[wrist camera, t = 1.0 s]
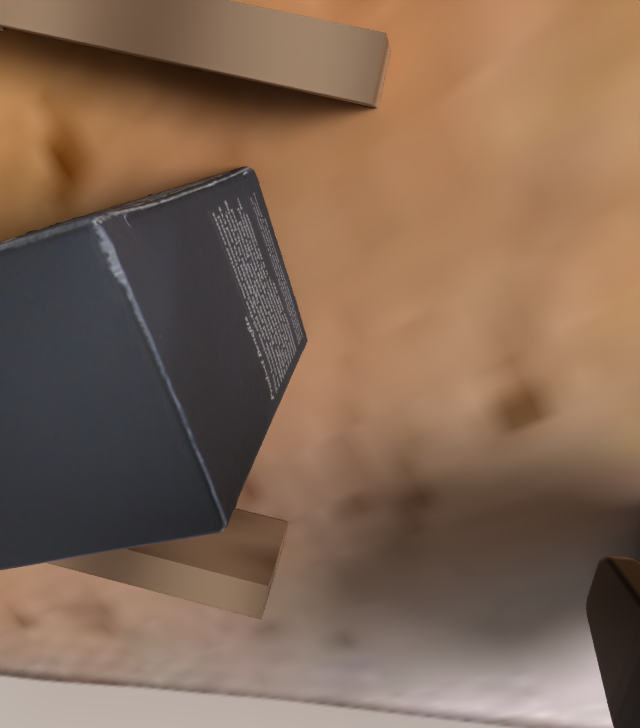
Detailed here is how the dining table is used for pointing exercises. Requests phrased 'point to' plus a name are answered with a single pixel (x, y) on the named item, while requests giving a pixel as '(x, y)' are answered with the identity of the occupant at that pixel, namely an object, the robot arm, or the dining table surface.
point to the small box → (139, 369)
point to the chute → (245, 61)
